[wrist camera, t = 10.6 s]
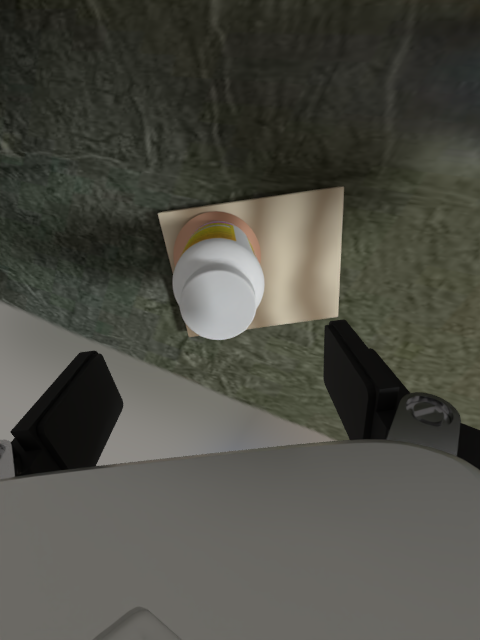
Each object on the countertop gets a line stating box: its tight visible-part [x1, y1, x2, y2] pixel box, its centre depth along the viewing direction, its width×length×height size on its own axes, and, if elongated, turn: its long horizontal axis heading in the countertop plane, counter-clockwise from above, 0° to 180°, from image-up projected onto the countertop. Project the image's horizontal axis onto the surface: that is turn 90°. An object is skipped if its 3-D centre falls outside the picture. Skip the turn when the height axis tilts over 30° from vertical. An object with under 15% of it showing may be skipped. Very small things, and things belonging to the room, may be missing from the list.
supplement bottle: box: [173, 221, 264, 340], centre depth 22 cm, size 7×7×13 cm
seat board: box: [158, 187, 344, 337], centre depth 29 cm, size 18×14×2 cm
